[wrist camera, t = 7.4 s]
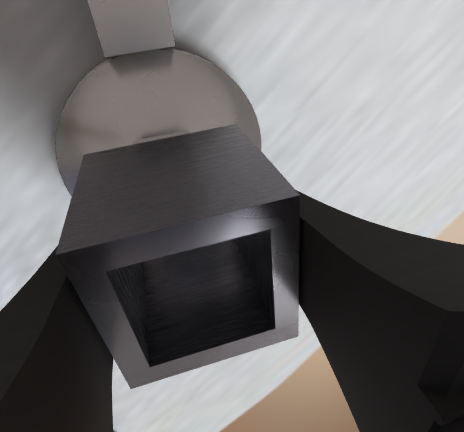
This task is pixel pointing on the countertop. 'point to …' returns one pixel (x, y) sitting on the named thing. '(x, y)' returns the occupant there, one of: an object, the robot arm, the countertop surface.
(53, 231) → the countertop surface
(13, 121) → the countertop surface
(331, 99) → the countertop surface
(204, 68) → the ratchet
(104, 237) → the square metal tube
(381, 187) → the countertop surface
